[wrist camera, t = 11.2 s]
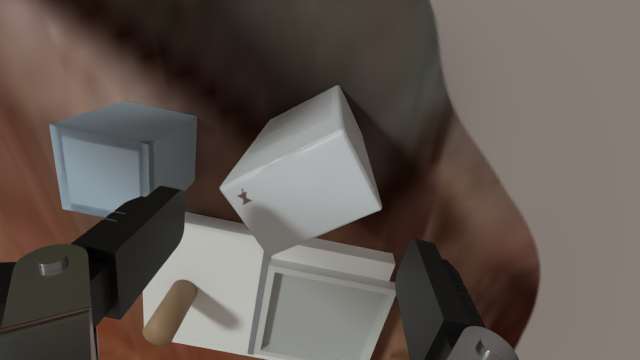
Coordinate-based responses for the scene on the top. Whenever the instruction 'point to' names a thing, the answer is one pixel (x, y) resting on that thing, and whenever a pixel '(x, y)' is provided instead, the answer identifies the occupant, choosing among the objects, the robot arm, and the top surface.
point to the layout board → (268, 295)
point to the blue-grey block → (122, 155)
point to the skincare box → (304, 175)
